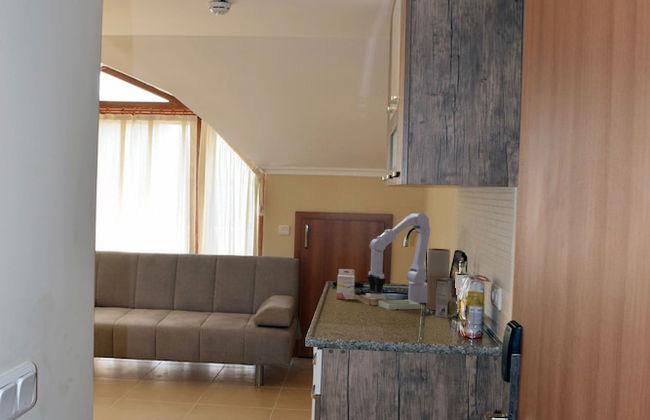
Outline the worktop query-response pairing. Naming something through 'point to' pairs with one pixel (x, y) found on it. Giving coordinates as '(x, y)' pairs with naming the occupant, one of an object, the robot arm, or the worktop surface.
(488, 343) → the worktop surface
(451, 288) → the coffee box
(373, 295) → the block
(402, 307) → the tray
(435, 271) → the tall taupe carton
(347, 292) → the ink cartridge box
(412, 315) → the worktop surface
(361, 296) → the frame
